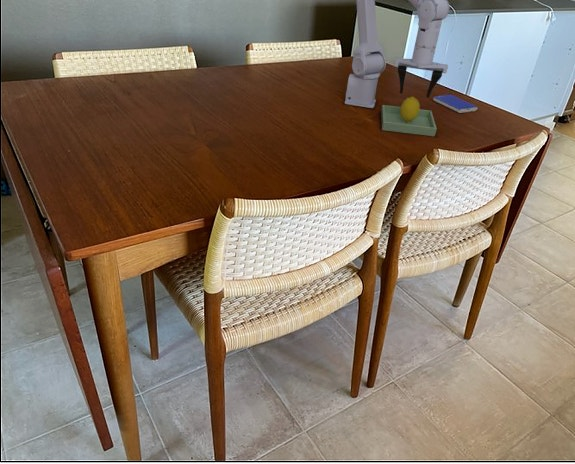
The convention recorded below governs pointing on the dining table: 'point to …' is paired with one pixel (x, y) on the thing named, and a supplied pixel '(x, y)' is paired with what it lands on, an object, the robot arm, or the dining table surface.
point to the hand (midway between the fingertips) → (414, 94)
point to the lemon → (409, 109)
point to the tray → (419, 125)
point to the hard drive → (455, 103)
